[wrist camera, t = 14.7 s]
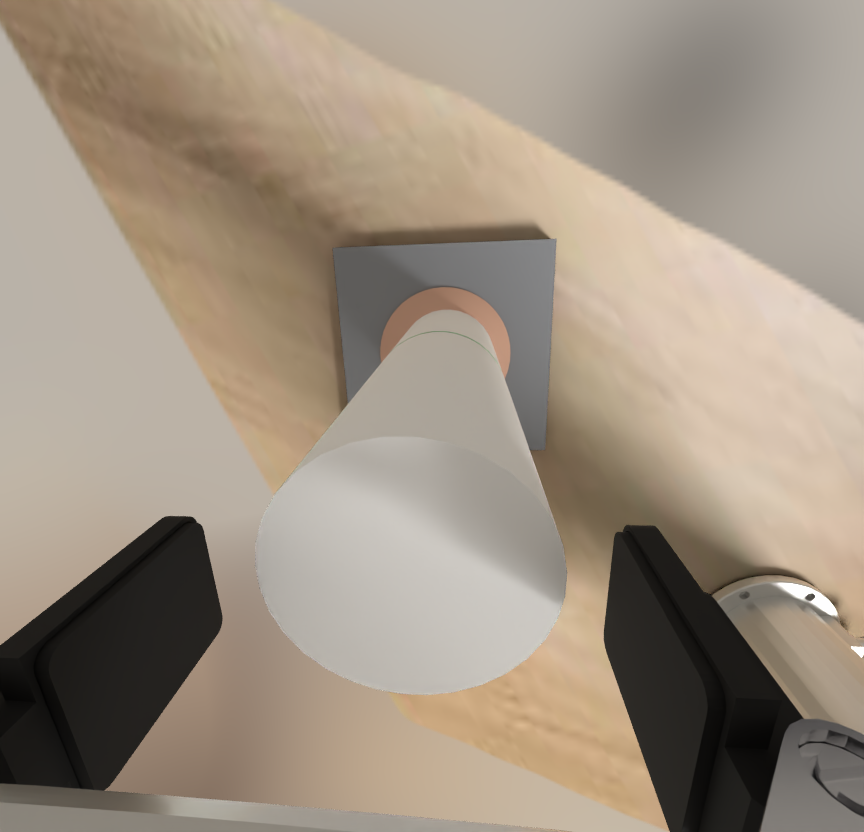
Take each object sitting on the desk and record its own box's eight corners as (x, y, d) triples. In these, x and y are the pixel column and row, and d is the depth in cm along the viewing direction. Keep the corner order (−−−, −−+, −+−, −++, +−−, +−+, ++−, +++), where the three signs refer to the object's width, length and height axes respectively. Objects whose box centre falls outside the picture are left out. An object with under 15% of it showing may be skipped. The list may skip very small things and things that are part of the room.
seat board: (552, 240, 32) (556, 238, 30) (541, 442, 37) (545, 451, 35) (338, 248, 33) (331, 247, 32) (357, 443, 38) (351, 451, 37)
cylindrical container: (399, 397, 35) (265, 678, 11) (402, 306, 32) (242, 421, 9) (488, 405, 35) (541, 709, 11) (499, 313, 32) (594, 451, 9)
